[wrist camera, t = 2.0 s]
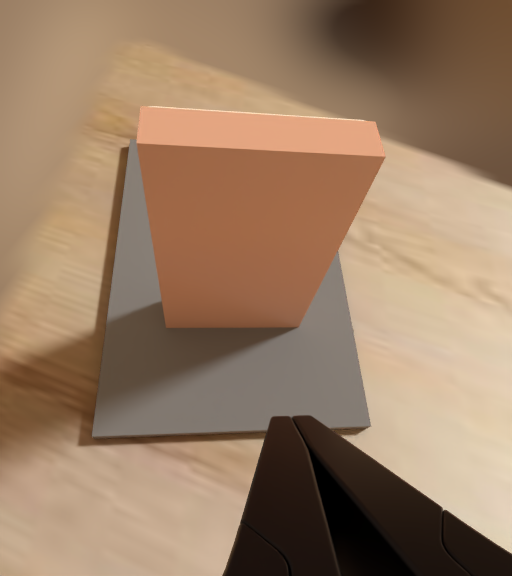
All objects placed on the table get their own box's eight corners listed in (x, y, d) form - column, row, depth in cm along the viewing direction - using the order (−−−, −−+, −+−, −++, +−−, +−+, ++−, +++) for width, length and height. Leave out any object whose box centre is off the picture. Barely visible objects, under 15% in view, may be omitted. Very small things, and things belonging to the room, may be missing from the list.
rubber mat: (367, 428, 21) (370, 426, 20) (94, 438, 19) (91, 436, 18) (317, 155, 30) (319, 149, 29) (131, 145, 28) (130, 139, 28)
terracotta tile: (298, 327, 22) (385, 156, 12) (166, 327, 21) (136, 143, 11) (295, 298, 23) (373, 115, 13) (167, 297, 22) (141, 99, 12)
